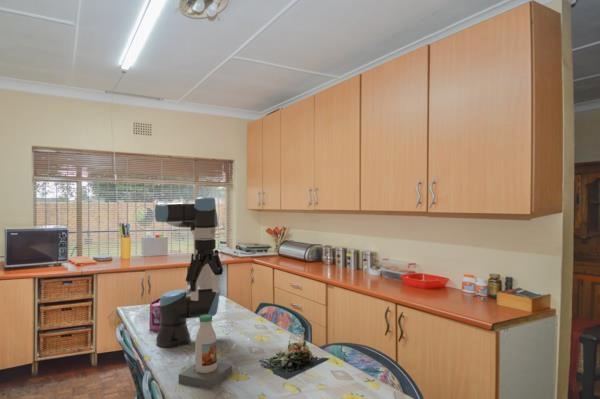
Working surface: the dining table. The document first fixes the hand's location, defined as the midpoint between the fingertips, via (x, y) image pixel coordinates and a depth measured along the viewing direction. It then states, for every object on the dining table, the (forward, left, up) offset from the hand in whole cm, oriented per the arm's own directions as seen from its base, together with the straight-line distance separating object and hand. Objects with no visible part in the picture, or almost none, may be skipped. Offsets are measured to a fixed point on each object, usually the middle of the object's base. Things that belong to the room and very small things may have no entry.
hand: (205, 295), depth 149 cm
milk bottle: (0, 0, -28) cm, 28 cm away
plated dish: (+24, +27, -31) cm, 48 cm away
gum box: (-58, +47, -31) cm, 81 cm away
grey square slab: (0, 0, -30) cm, 31 cm away
